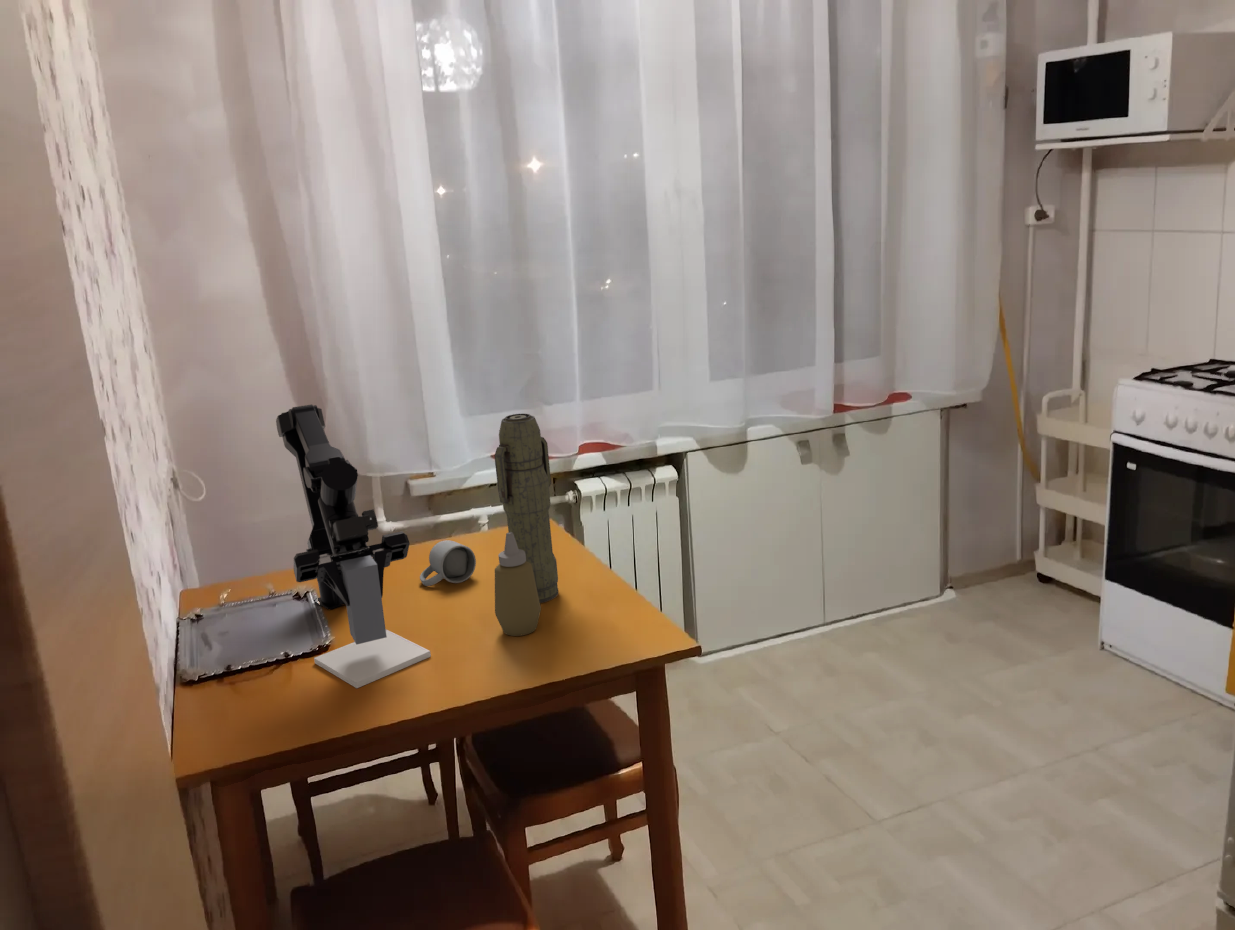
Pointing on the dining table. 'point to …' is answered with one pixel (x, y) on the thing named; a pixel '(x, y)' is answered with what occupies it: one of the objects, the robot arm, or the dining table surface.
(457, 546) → the ceramic mug
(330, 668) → the white plate
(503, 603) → the squeeze bottle
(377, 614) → the tall block
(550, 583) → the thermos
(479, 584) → the dining table surface
